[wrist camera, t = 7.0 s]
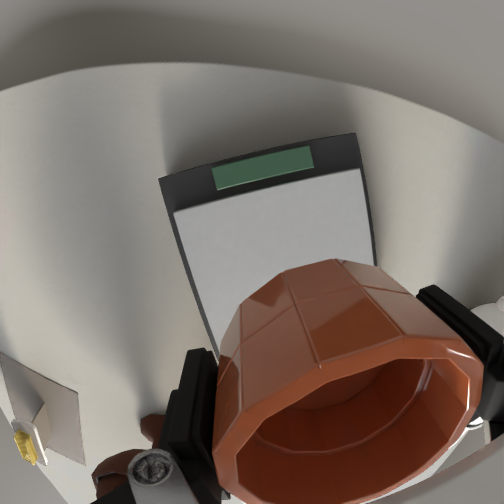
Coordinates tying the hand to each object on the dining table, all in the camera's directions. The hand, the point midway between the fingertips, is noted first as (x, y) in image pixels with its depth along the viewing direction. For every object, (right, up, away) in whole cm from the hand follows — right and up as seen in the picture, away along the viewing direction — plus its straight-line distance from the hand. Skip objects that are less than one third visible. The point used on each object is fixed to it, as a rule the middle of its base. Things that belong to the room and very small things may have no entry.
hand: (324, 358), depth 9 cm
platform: (-30, -18, +18) cm, 39 cm away
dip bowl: (0, 0, +1) cm, 1 cm away
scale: (0, +4, +13) cm, 13 cm away
